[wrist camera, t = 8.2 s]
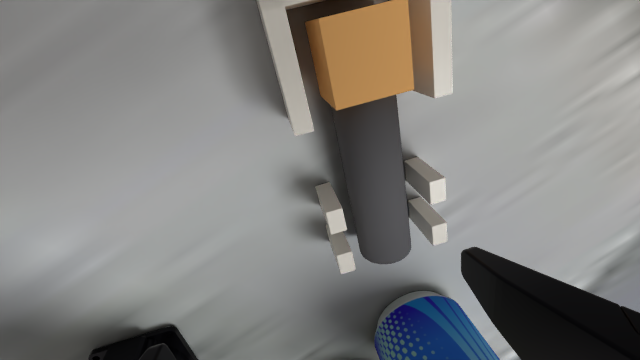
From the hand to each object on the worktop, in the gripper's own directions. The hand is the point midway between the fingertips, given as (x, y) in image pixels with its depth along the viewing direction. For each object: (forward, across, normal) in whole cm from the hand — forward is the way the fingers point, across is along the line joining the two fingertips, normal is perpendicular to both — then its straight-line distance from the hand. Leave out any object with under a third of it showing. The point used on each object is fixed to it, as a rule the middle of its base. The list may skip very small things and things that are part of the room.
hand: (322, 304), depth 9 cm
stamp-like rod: (+12, -5, 0) cm, 13 cm away
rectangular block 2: (+12, -5, +3) cm, 13 cm away
